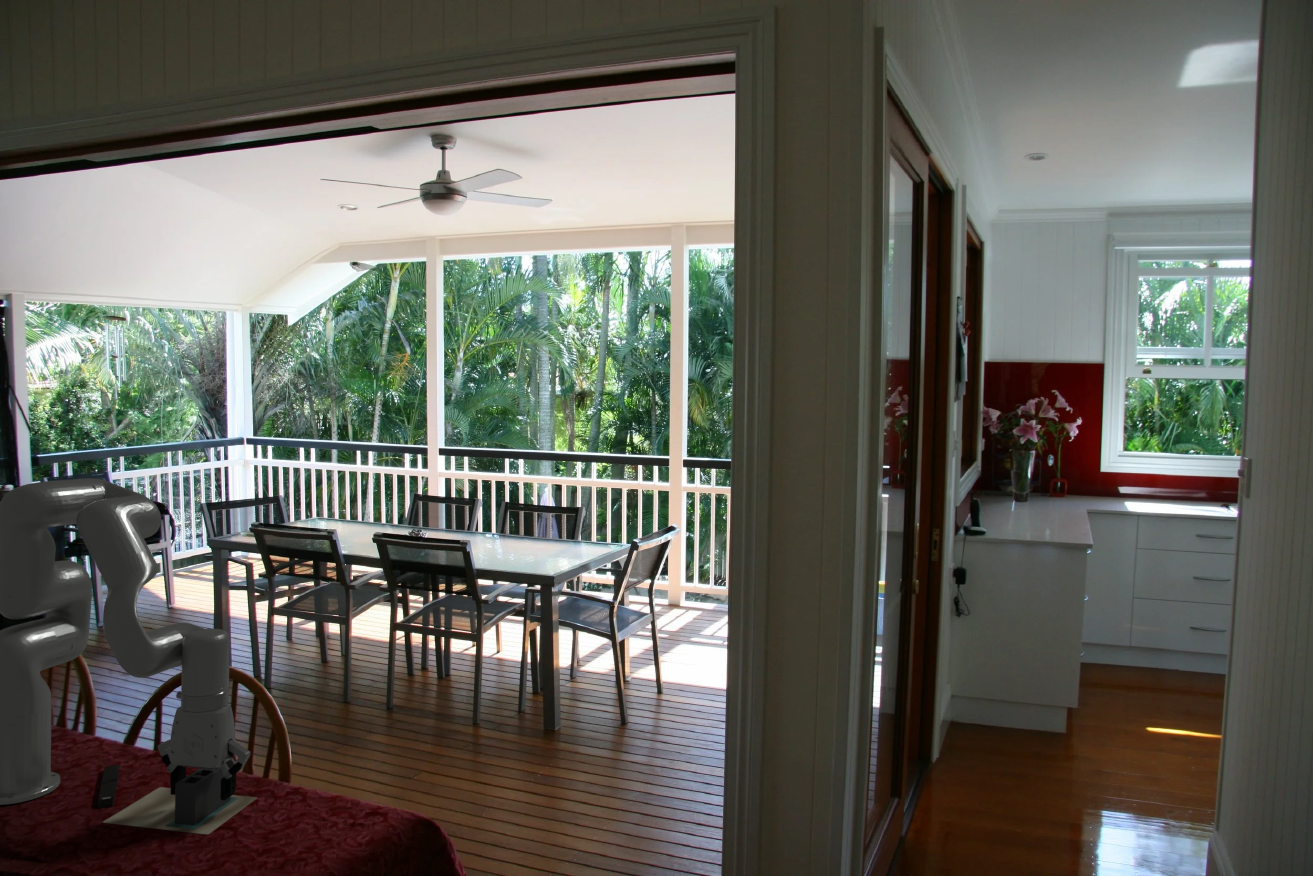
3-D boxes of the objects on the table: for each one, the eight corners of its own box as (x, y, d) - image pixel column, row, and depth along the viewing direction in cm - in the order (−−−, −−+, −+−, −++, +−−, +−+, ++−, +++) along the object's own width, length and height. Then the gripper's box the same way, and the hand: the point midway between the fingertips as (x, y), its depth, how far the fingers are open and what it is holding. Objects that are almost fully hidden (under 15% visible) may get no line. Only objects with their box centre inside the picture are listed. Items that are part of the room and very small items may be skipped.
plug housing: (194, 825, 148) (195, 785, 148) (174, 823, 148) (175, 783, 148) (230, 800, 157) (231, 762, 157) (211, 798, 158) (212, 760, 158)
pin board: (102, 830, 148) (102, 802, 148) (159, 795, 162) (160, 769, 162) (208, 843, 145) (208, 814, 145) (257, 805, 159) (257, 779, 159)
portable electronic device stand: (104, 779, 168) (104, 764, 168) (119, 776, 170) (120, 762, 169) (96, 819, 153) (96, 802, 153) (113, 816, 154) (113, 799, 154)
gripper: (145, 703, 150) (143, 798, 150) (236, 711, 147) (234, 809, 148) (175, 689, 157) (173, 780, 158) (262, 697, 155) (260, 790, 155)
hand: (202, 794), depth 153 cm, fingers open, 9 cm apart
